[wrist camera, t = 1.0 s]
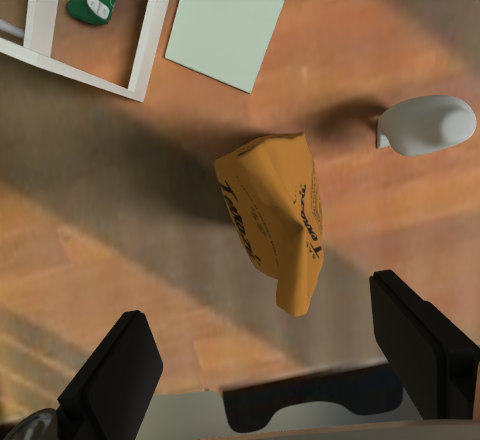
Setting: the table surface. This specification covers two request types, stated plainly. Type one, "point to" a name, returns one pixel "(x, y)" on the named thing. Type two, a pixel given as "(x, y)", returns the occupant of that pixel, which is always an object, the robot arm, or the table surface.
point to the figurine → (425, 125)
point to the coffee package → (277, 212)
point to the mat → (223, 38)
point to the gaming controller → (91, 10)
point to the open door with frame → (39, 52)
